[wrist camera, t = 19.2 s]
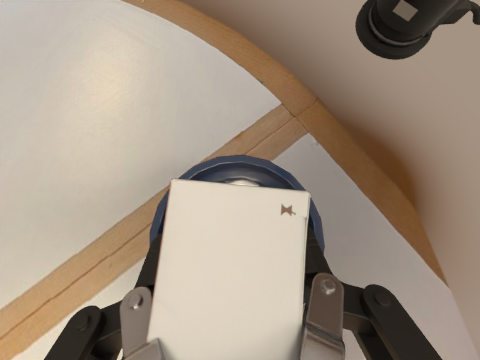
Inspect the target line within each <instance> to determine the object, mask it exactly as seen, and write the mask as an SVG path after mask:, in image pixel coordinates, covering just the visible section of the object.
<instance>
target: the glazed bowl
mask: <svg viewBox="0 0 480 360" xmlns="http://www.w3.org/2000/svg"><path fill="white" fill-rule="evenodd" d="M178 179H184V180H195V181H205V182H215V183H226V184H236V185H246V186H257V187H268V188H279V189H290V190H301V191H306V190H305V189H304V188H303V187H302V185H301V184H300V183H299V182H298V181H297V180H296V179H295V178H294V177H293V176H292V175H291V174H290V173H289V172H287V171H285V170H284V169H282V168H280V167H279V166H277V165H275V164H273V163H272V162H270V161H268V160H264V159H260V158H256V157H251V156H247V155H234V156H220V157H216V158H213V159H211V160H208V161H206V162H203V163H201V164H198V165H196V166H194V167H192V168H191V169H190V170H188V171H187V172H186V173H185V174H183V175H182V176H181V177H180V178H178ZM168 195H169V190H168V191H167V193H166V194H165V196H164V197H163V198H162V200H161V201H160V203H159V204H158V207H157V210H156V213H155V217H154V220H153V223H152V226H151V230H150V246H151V243H152V241H153V240H154V239H155V238H156V236H157V235H158V234H163V227H164V220H165V213H166V207H167V201H168ZM307 225H308V226H309V227H310V228H311V229H312V230H313V232H314V234H315V236H316V239H317V241H318V243H319V246H320V248H321V250H322V252H323V254H324V248H325V245H324V238H323V230H322V223H321V218H320V216H319V214H318V212H317V209H316V207H315V205H314V203H313V201H312V199H311V197H310V207H309V217H308V224H307ZM304 303H305V300H304V296H303V304H304Z"/></svg>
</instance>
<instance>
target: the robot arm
mask: <svg viewBox="0 0 480 360" xmlns="http://www.w3.org/2000/svg"><path fill="white" fill-rule="evenodd" d="M468 11H471V12H472V13H473V23H474V24H476V25H480V6H478V5H477V4H476V3H474V2H471V1H469V0H376V1H375V2H374V3H373V5H372V6H371V8H370V10H369V12H368V15H367V25H368V28H369V30H370V32H371V34H372V35H373V36H374V37H375V38H376V39H377V40H378V41H380V42H381V43H383V44H385V45H388V46H391V47H398V48H402V47H408V46H411V45H413V44H415V43H416V42H418V41H419V40H420V39H421V38H422V37H427V36H429V35H430V34H431V33H432V32H433V31H434V30H435V29H436V28H437V27H438V26H439V25H445V24H455V23H456V22H457V21H458V20H459V19H460V18H461V17H462V16H464V15H465V14H466V13H467V12H468ZM161 240H162V234H158V235H157V236H156V238H155V239H154V240H153V241H152V243H151V246H150V248H149V252H148V254H147V256H146V259H145V262H144V264H143V267H142V270H141V272H140V275H139V278H138V280H137V283H136V285H135V287H134V289H133V290H131V291H130V292H129V293H128V294H126V296H125V297H124V298H123V300H121V301H119V302H117V303H115V304H112V305H110V306H107V307H105V308H102V309H99V308H98V307H97V306H87V307H85V308H83V309H81V310H80V311H78V312H77V313H76V314H75V315H74V316H73V317H72V318H71V319H70V320H69V322H68V323H67V325H66V326H65V328H64V329H63V331H62V333H61V334H60V336H59V337H58V339H57V340H56V342H55V343H54V345H53V346H52V348H51V349H50V351H49V353H48V354H47V356H46V357H45V359H44V360H117V357H118V355H119V353H120V350H121V348H123V357H122V359H121V360H166V359H165V356H164V354H163V351H162V348H161V345H160V342H159V339H158V338H156V339H154V340H152V341H150V342H149V343H147V344H146V338H147V332H148V326H149V319H150V312H151V306H152V299H153V293H154V286H155V279H156V273H157V267H158V260H159V253H160V247H161ZM303 296H304V300H305V303H306V304H305V308H304V314H303V319H302V338H301V348H300V353H299V360H345V345H344V342H343V340H342V328H344V329H347V330H350V331H352V332H353V334H354V336H355V338H356V340H357V342H358V344H359V346H360V348H361V350H362V352H363V354H364V355H365V357H366V359H367V360H442V359H441V357H440V356H439V355H438V353H437V352H436V351H435V349H434V348H433V347H432V345H431V344H430V343H429V341H428V340H427V339H426V337H425V336H424V335H423V333H422V332H421V331H420V329H419V328H418V327H417V325H416V324H415V323H414V321H413V320H412V319H411V317H410V316H409V315H408V313H407V312H406V311H405V309H404V308H403V307H402V305H401V304H400V303H399V301H398V300H397V299H396V297H395V296H394V295H393V294H392V293H391V292H390V291H389V290H387V289H386V288H384V287H382V286H379V285H375V284H372V285H368V286H366V287H365V289H364V288H360V287H356V286H352V285H348V284H345V283H343V282H341V281H340V280H338V279H337V278H336V277H335V276H334V275H333V274H332V272H331V270H330V268H329V266H328V264H327V261H326V259H325V257H324V255H323V252H322V250H321V248H320V246H319V243H318V241H317V239H316V236H315V234H314V232H313V230H312V229H311V228H310V227H309V226H308V225H307V239H306V253H305V273H304V293H303Z"/></svg>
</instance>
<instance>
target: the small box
mask: <svg viewBox="0 0 480 360" xmlns="http://www.w3.org/2000/svg"><path fill="white" fill-rule="evenodd" d="M310 197H311V194H310V192H308V191H301V190H290V189H279V188H268V187H257V186H246V185H236V184H226V183H215V182H205V181H195V180H184V179H171V181H170V188H169V195H168V201H167V207H166V213H165V220H164V227H163V234H162V240H161V247H160V253H159V260H158V267H157V273H156V279H155V286H154V293H153V299H152V306H151V312H150V319H149V326H148V332H147V338H146V344H147V343H149V342H150V341H152V340H154V339H156V338H158V339H159V342H160V345H161V348H162V351H163V354H164V356H165V359H166V360H299V353H300V348H301V338H302V315H303V293H304V273H305V253H306V239H307V224H308V217H309V207H310Z"/></svg>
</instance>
